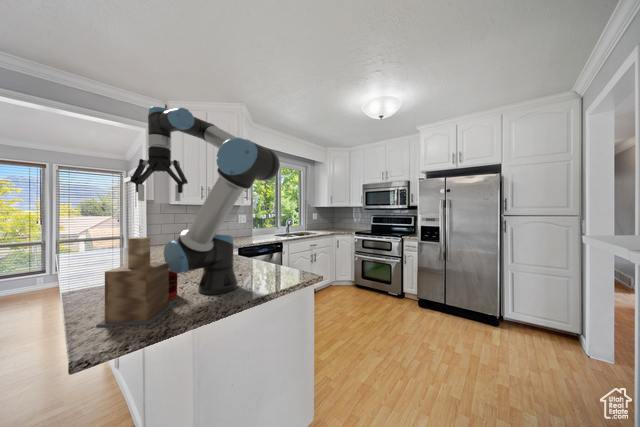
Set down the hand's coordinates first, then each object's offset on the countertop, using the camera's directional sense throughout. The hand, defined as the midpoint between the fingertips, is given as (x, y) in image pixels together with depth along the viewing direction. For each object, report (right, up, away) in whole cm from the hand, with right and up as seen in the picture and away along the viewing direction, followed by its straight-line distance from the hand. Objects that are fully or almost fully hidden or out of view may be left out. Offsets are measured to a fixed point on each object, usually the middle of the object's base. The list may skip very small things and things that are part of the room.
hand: (159, 201), depth 96 cm
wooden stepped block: (+8, -36, -21) cm, 43 cm away
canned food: (+6, -37, -5) cm, 38 cm away
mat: (+8, -37, -21) cm, 43 cm away
